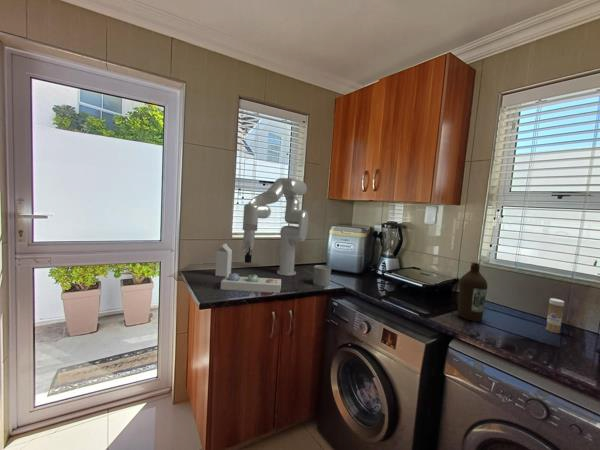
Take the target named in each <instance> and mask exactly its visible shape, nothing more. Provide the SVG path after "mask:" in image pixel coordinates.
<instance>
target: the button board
mask: <svg viewBox="0 0 600 450" xmlns="http://www.w3.org/2000/svg"><path fill="white" fill-rule="evenodd" d="M268 279H272V278H271V277H270V278H268V277H257V282H248V276H239V277H238V281H230V280H229V276H226V277H225V276H224V278H223V279H222V280H221V282H220V290H225V291H227V290H228V291H239V292H240V291H242V292H255V293H256V292H257V293H270V294H271V293H272V292H273V294H280V292H281V287H282V279H281V278H273V279H274V280H276V283H267V280H268Z"/></svg>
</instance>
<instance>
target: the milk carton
mask: <svg viewBox="0 0 600 450" xmlns="http://www.w3.org/2000/svg"><path fill="white" fill-rule="evenodd" d="M215 255H216V256H215V257H216V258H215V276H216V277H224V278H225V277H226V276H229V274H231V273H232V259H233V258H232V257H233V256H232V255H233V250H232V249H231V248H230V247H229V246H228V243H223V244H222V245H220V246H219V247H218V250H216V254H215Z"/></svg>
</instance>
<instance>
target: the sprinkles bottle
mask: <svg viewBox="0 0 600 450" xmlns="http://www.w3.org/2000/svg"><path fill="white" fill-rule="evenodd" d="M548 303H549V306H548V313H547V316H546V317H547V318H546V327H545V330H546V331H548V332H550V333H554V334H561V326H562V322H563V321H562V320H563V311H564V306H565V301H564V300H562V299H559V298H554V297H551V298H549V302H548Z"/></svg>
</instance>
